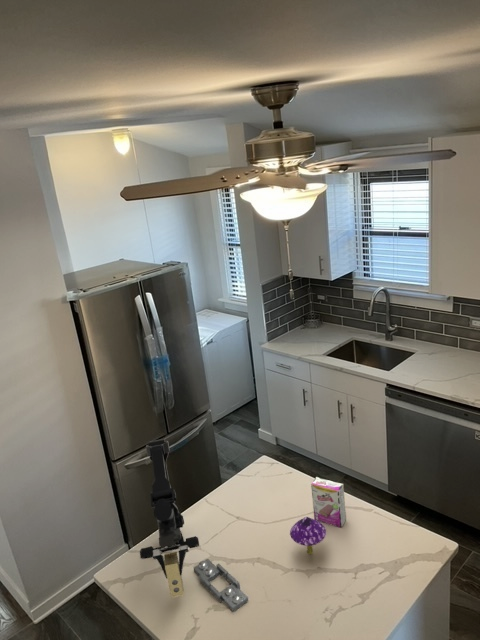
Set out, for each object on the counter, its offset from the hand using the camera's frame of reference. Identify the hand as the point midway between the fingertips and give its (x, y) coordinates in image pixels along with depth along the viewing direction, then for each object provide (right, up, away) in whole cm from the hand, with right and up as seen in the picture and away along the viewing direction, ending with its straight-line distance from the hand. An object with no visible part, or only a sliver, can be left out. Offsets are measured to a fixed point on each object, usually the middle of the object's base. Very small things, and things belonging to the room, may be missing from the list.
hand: (174, 576), depth 164 cm
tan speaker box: (+1, -6, +3) cm, 7 cm away
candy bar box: (+55, +5, +33) cm, 64 cm away
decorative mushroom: (+45, -1, +18) cm, 49 cm away
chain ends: (+14, -7, +9) cm, 18 cm away
